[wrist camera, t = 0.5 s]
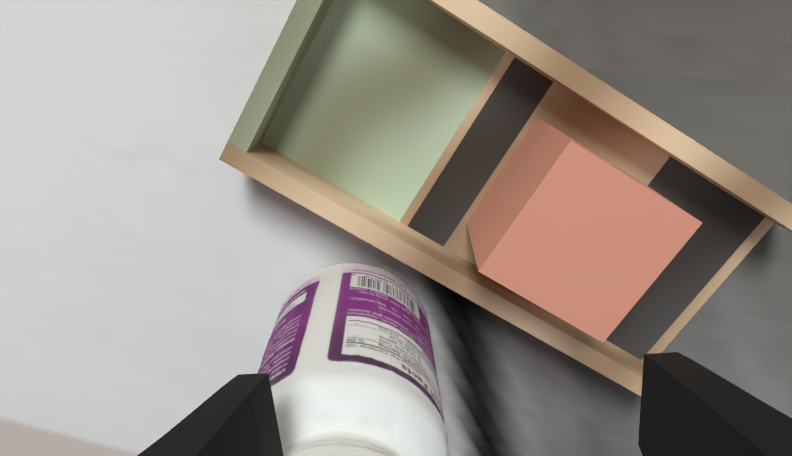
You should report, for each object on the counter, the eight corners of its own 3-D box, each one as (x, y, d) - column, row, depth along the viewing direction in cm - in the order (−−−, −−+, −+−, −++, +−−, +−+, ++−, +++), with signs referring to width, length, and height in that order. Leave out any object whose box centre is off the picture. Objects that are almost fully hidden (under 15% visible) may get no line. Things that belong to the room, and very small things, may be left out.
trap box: (776, 202, 18) (822, 223, 16) (633, 368, 21) (657, 405, 19) (350, -73, 16) (340, -89, 14) (241, 145, 18) (219, 159, 16)
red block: (642, 182, 18) (702, 222, 14) (566, 281, 19) (603, 342, 15) (537, 116, 17) (570, 140, 13) (466, 222, 18) (478, 271, 15)
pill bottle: (316, 405, 21) (266, 683, 12) (254, 288, 20) (145, 512, 11) (449, 360, 21) (499, 616, 12) (397, 235, 19) (409, 424, 10)
